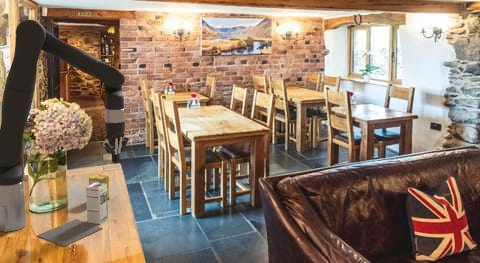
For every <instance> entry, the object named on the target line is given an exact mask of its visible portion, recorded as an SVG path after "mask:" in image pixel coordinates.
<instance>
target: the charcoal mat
mask: <svg viewBox="0 0 480 263" xmlns="http://www.w3.org/2000/svg"><path fill="white" fill-rule="evenodd" d="M101 230H103V227H100V226H98V225H96V224H95V225H94V224H93V223H89V222H86V221H83V220H80V219H78V218H75V219H73V220H71V221H69V222H66V223H64V224H61V225H59V226H57V227H54V228H52V229H49V230H47V231H44V232H42V233H40V234H37V235H36V236H37V237H38V238H41V239H44V240H46V241H48V242H51V243H53V244H56V245H58V246H61V247H64V248H65V247H67V246H69V245H71V244H73V243H76V242H77V241H80V240H82V239H83V238H86V237H88V236H90V235H92V234H94V233H97V232H99V231H101Z"/></svg>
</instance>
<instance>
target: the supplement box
mask: <svg viewBox="0 0 480 263" xmlns="http://www.w3.org/2000/svg"><path fill="white" fill-rule="evenodd" d="M109 178H110V176H109V175H106V174H105V175H104V174H99V173H97V174H94V175H92V176H90V177H89V178H88V186H89V185H91V184H93V183H104V184H107V201H109V200H110V179H109Z"/></svg>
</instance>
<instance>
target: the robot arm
mask: <svg viewBox="0 0 480 263" xmlns="http://www.w3.org/2000/svg"><path fill="white" fill-rule="evenodd" d="M14 42H15V45H14V54H13V59H12V62H11V66H10V67H9V70H8V74H7V77H6V80H5V85H4V89H3V94H2V101H1V111H0V112H1V115H0V117H1V118H0V231H1V232H3V233H7V232H14V231H18V230H21V229H23V228H25V227H26V226H27V213H26V198H25V197H26V194H25V180H24V178H25V177H24V175H25V174H24V167H23V165H24V164H23V146H24V145H23V143H24V133H25V129H26V125H27V122H28V119H29V116H30V112H31V109H32V106H33V105H32V104H33V100H34V96H35V90H36V84H37V70H38V69H37V68H38V62H39V58H40V54H41V52H43V51H44V52H45V53H48V54H50V55H52V56H53V57H56V58H58V59H59V60H61V61H63V62H64V63H66V64H68V65H70V66H71V67H73V68H75V69H76V70H78V71H80V72H83V73H84V74H86V75H88V76H90V77H92V78H95V79H97V80H98V81H101V82H102V83H103V88H104V96H105V97H104V107H105V108H104V132H105V133H106V136H105V140H104V141H102V142H101V143H100V145H101V147H102V148H103V149H104V150H105V152H106V153H108V154H111V162H112V163H113V164H119V163H120V161H121V160H120V159H121V158H120V157H121V156H120V154H121V152H123V151H125V148H126V146H127V144H128V141H130V140H129V139H130V138H129V137H126V136H125V131H126V114H125V98H124V97H125V96H124V95H123V85H124V83H125V81H126V78H125V74H124V72H123V71H122V70H120V69H118V68H116V67H114V66H112V65H110V64H108V63H106V62H104V61H102V60H101V59H100V58H98V57H96V56H94V55H93V54H91V53H89V52H86V51H85V50H83V49H81V48H78V47H76V46H74V45H72V44H70V43H68V42H65V41H64V40H62V39H60V38H58V37H56V36H55V35H54V34H52V33H51V32H50V31H48V30H47V29H46V28H45V27H44V26H43V25H42V24H41V22H38V21H37V20H36V19H24V20H22V21H20V22H19V23H18V24H17V25H16V28H15V41H14Z"/></svg>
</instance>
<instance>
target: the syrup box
mask: <svg viewBox="0 0 480 263" xmlns="http://www.w3.org/2000/svg"><path fill="white" fill-rule="evenodd" d="M85 196H86V197H85V202H86V221H87V223H90V224H93V225H94V224H95V225H102V224H103V223H104V222H105V221H107V220H108V219H109V213H108V212H109V211H108V210H109V209H108V200H107V184H104V183H93V184H91V185H89V184H88V186H86V187H85Z"/></svg>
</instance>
